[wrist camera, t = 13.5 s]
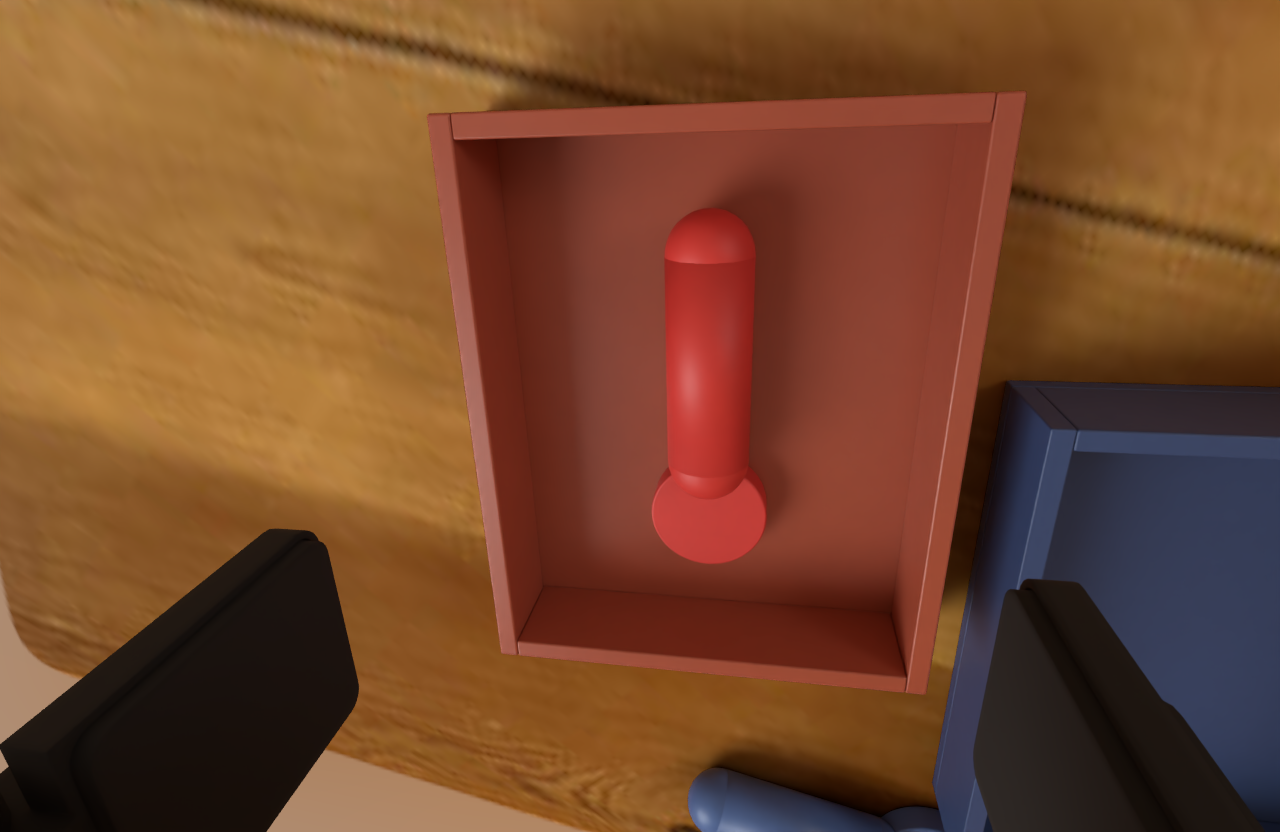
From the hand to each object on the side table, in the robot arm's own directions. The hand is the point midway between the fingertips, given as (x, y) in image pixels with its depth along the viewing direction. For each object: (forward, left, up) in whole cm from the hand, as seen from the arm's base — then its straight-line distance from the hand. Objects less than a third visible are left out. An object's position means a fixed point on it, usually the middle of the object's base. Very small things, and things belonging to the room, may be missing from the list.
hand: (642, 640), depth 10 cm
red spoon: (0, -1, -12) cm, 12 cm away
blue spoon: (+5, -19, -13) cm, 23 cm away
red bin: (0, -1, -13) cm, 13 cm away
